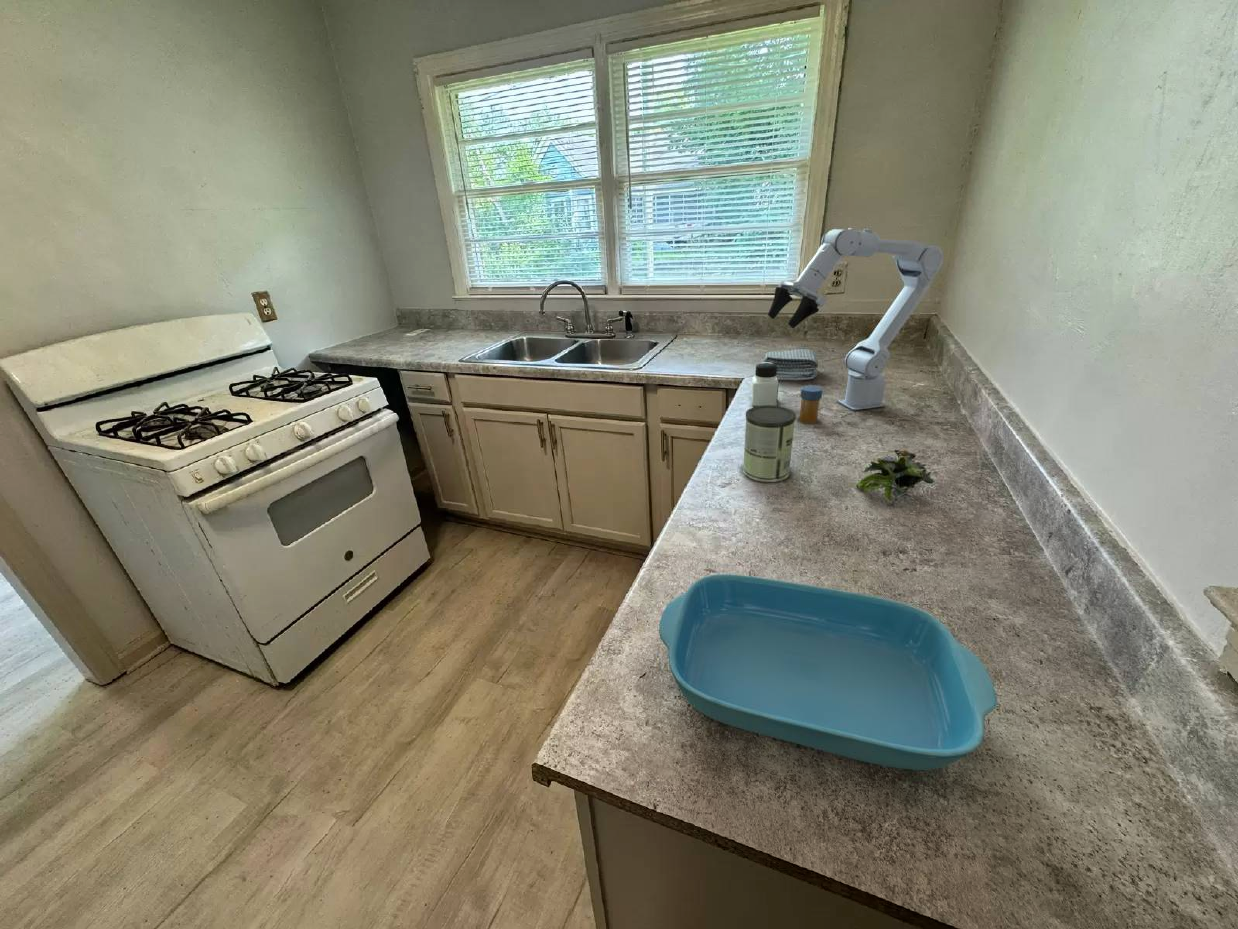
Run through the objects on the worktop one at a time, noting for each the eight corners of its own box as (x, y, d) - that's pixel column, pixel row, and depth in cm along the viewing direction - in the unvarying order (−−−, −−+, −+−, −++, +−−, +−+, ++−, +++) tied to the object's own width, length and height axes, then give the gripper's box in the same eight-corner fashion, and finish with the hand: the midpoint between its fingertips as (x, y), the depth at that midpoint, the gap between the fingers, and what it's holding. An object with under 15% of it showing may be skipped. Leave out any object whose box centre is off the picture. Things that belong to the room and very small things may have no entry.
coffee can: (744, 459, 117) (748, 403, 111) (790, 463, 114) (796, 406, 108) (739, 480, 109) (743, 420, 102) (788, 485, 106) (795, 424, 99)
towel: (817, 381, 164) (820, 358, 161) (760, 380, 169) (762, 357, 166) (813, 368, 177) (816, 346, 174) (761, 367, 182) (762, 346, 178)
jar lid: (814, 393, 136) (815, 384, 134) (825, 399, 131) (826, 390, 130) (796, 395, 135) (797, 386, 134) (806, 401, 130) (808, 392, 129)
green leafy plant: (892, 510, 104) (940, 471, 98) (895, 529, 95) (948, 487, 89) (849, 474, 106) (894, 434, 100) (848, 490, 97) (897, 446, 91)
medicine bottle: (776, 406, 146) (780, 367, 141) (751, 406, 148) (754, 367, 142) (774, 398, 153) (778, 360, 147) (751, 398, 154) (753, 360, 149)
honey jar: (811, 416, 138) (815, 386, 134) (820, 422, 134) (824, 391, 130) (796, 418, 138) (799, 388, 134) (804, 424, 134) (808, 393, 130)
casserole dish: (950, 645, 66) (964, 605, 63) (1011, 822, 47) (1036, 778, 44) (678, 598, 77) (678, 562, 74) (640, 727, 58) (638, 685, 55)
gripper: (787, 258, 126) (753, 305, 129) (830, 272, 115) (792, 322, 118) (799, 274, 130) (767, 318, 134) (842, 288, 120) (806, 336, 123)
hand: (780, 321), depth 126 cm, fingers open, 7 cm apart
